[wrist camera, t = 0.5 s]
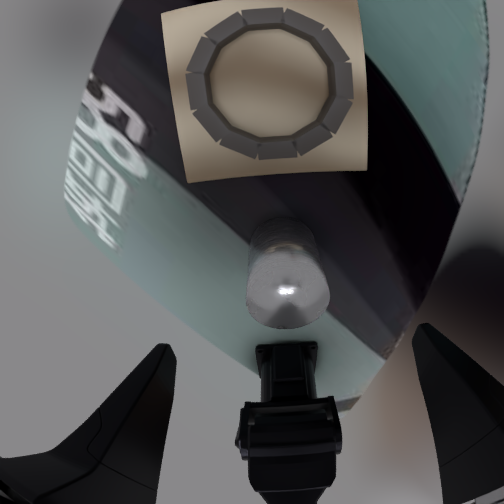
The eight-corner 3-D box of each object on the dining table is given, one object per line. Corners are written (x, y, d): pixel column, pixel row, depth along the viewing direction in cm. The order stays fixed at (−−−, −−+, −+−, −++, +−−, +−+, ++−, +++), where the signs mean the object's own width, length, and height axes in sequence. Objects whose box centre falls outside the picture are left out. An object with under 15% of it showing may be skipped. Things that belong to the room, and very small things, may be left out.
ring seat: (363, 167, 17) (376, 179, 15) (189, 180, 18) (180, 193, 16) (354, 1, 11) (366, -8, 9) (164, 15, 12) (150, 7, 10)
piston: (314, 270, 22) (326, 325, 17) (253, 274, 23) (250, 331, 18) (315, 215, 20) (332, 264, 15) (246, 220, 20) (240, 271, 15)
